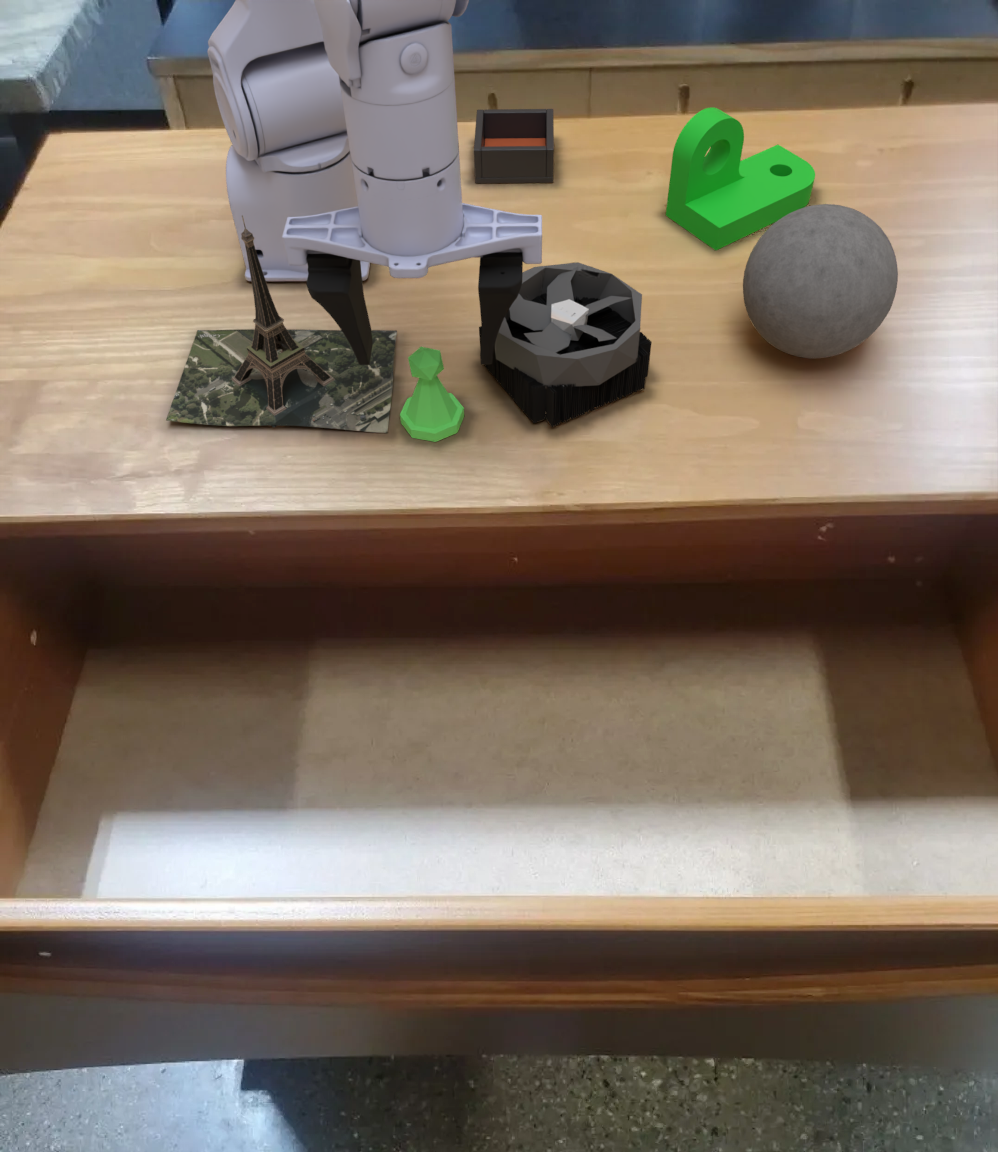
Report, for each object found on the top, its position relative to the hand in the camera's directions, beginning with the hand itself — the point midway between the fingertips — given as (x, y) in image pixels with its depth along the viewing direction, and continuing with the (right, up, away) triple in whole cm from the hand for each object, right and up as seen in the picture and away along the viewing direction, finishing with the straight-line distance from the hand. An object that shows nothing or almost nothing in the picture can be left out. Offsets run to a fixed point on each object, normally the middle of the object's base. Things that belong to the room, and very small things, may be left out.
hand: (426, 354), depth 65 cm
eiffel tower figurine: (-10, 0, +7) cm, 13 cm away
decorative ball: (+26, +3, +9) cm, 28 cm away
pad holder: (+6, +22, +24) cm, 33 cm away
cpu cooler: (+9, 0, +7) cm, 12 cm away
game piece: (0, -4, +5) cm, 6 cm away
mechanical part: (+25, +16, +19) cm, 35 cm away
